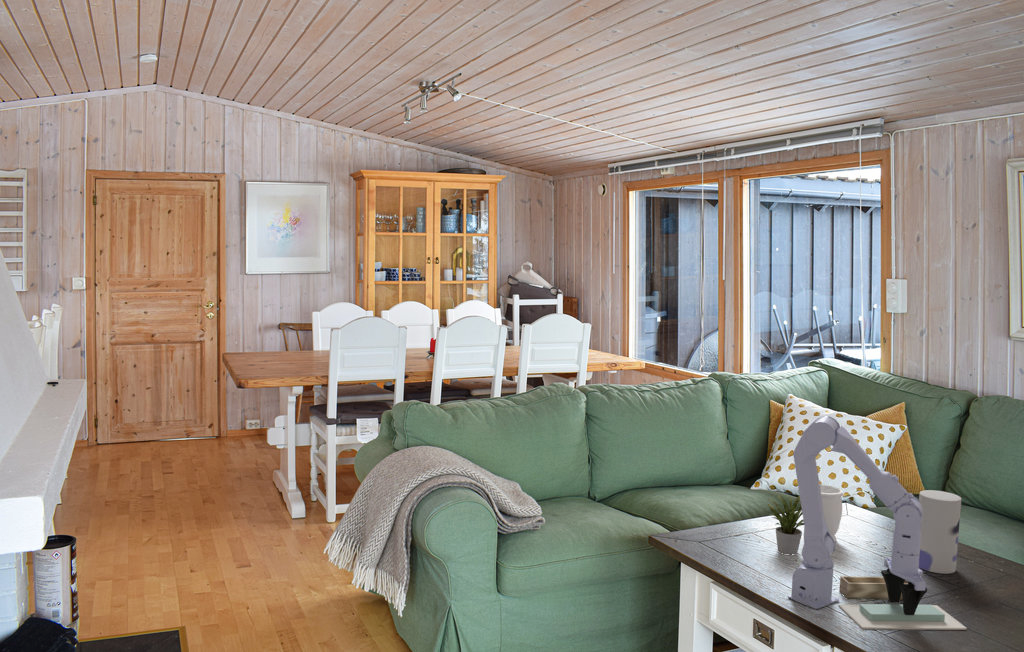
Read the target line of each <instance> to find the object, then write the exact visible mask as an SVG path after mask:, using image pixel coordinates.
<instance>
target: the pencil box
mask: <svg viewBox="0 0 1024 652" xmlns="http://www.w3.org/2000/svg"><path fill="white" fill-rule="evenodd" d="M904 584H908V581H906V580H905V582H904ZM839 593H840V594H841V595H842V594H843V595H844V596H843V595H842V596H843V597H844V598H847V599H846V600H850V599H856V600H857V599H858V601H859V600H860V601H861V599H866V600H867V601H871V600H870V599H874V601H875V600H877V601H881V600H882V601H885V600H886V601H887V600H888V601H889V598H888V592H887V587H886V583H885V580H884V578H883V576H851V575H850V576H846V575H845V576H840V578H839ZM866 600H865V601H866ZM900 601H903V597H902V593H901V598H900Z"/></svg>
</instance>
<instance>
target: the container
mask: <svg viewBox="0 0 1024 652" xmlns="http://www.w3.org/2000/svg"><path fill="white" fill-rule="evenodd" d="M918 500H919V502H920V503H921V505H922V507H923V516H922V518H923V520H922V523H921V524H920V525H921V531H920V533H921V542H920V555H919V569H921V570H922V571H926V572H931V573H936V574H953V573H956V570H957V561H958V560H957V559H958V547H959V546H958V545H959V535H960V534H959V533H960V520H961V507H962V497H961V496H960V495H958V494H955V493H952V492H947V491H943V490H933V489H928V490H927V489H926V490H922V491H920V492H919V498H918Z"/></svg>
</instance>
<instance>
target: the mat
mask: <svg viewBox="0 0 1024 652" xmlns="http://www.w3.org/2000/svg"><path fill="white" fill-rule="evenodd" d="M931 605H932V606H934V607H935V608H937V609H938V610H939V611H941V612H942V613H943V614H945V620H944V621H870V620H869V619H868V618H867V617H866V616H865V615H864V614H863V613H862V612H860V611H859V608H860V604H841V603H840V604H838V607H839V608H840V609H841V610H842V611H843V612H844V613H845V614H846V615H847V616H848V617H849V618H850V619H852V621H854V623H856V625H858V626H859V628H861V630H926V631H927V630H929V631H930V630H931V631H932V630H933V631H934V630H939V631H940V630H942V631H944V630H945V631H946V630H947V631H950V630H951V631H952V630H953V631H954V630H955V631H958V630H962V631H963V630H966V631H967V629H968V627H966V626H964V624H962V623H961V622H960V621H958V620H957V619H956V618H954V617H953V616H952V615H951V614H949V613H948V612H946V611H945V610H943V608H941V607H940V606H938V605H936V604H934V605H933V604H931Z"/></svg>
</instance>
